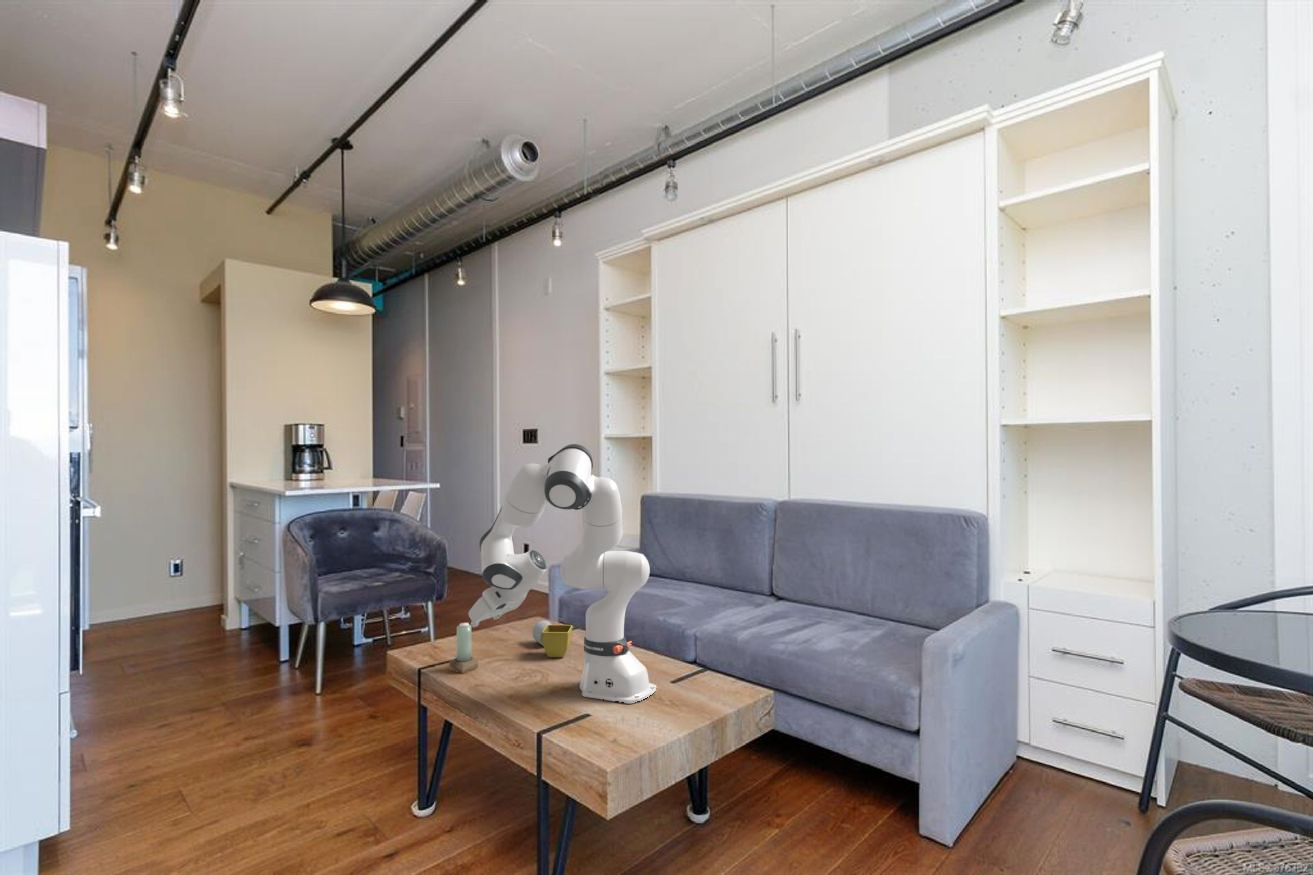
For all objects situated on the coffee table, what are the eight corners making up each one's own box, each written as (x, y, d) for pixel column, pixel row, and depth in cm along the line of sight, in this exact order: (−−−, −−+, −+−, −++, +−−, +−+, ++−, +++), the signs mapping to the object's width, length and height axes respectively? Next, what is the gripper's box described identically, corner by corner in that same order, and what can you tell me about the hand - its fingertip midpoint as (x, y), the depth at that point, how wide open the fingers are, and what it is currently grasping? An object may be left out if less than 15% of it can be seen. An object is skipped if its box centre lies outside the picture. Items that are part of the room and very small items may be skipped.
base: (477, 668, 201) (477, 658, 201) (462, 673, 196) (462, 663, 196) (464, 664, 204) (464, 654, 204) (449, 670, 199) (449, 659, 199)
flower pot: (568, 660, 209) (568, 632, 209) (541, 659, 209) (541, 632, 210) (572, 651, 218) (572, 624, 218) (546, 651, 218) (546, 624, 218)
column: (474, 658, 201) (474, 623, 201) (462, 662, 197) (463, 626, 197) (464, 655, 203) (464, 621, 203) (453, 659, 199) (453, 624, 200)
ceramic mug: (540, 649, 220) (541, 626, 220) (531, 643, 227) (532, 621, 227) (569, 645, 226) (569, 623, 226) (559, 639, 233) (560, 617, 233)
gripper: (525, 578, 206) (501, 605, 210) (480, 591, 188) (455, 621, 192) (536, 594, 204) (512, 621, 208) (492, 608, 186) (466, 638, 190)
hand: (484, 621), depth 200 cm, fingers open, 8 cm apart
